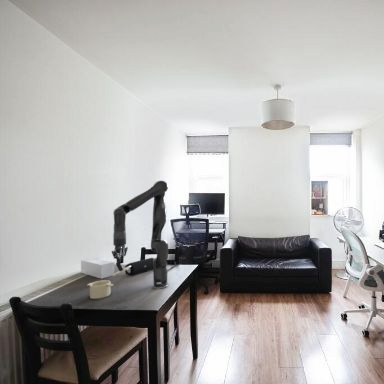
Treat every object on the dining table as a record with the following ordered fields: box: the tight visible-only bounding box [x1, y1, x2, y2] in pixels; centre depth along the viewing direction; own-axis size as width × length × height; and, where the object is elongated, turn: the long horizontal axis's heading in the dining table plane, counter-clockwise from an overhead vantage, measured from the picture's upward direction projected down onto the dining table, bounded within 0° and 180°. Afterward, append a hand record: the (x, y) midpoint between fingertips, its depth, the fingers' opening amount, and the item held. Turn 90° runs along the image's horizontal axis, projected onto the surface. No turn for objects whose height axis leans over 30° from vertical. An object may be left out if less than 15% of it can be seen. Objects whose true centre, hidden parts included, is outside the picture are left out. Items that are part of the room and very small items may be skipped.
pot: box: [87, 279, 114, 300], centre depth 172 cm, size 11×17×8 cm
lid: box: [111, 262, 131, 277], centre depth 175 cm, size 12×12×7 cm
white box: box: [80, 257, 115, 280], centre depth 221 cm, size 32×11×11 cm, turn 58°
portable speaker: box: [124, 257, 155, 276], centre depth 224 cm, size 26×10×10 cm, turn 148°
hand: (120, 263), depth 175 cm, fingers closed on lid, 2 cm apart
